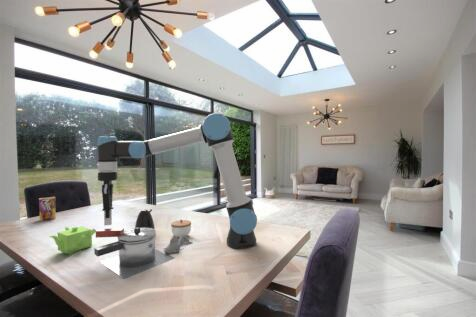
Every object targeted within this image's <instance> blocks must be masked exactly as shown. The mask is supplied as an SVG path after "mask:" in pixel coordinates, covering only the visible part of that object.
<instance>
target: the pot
mask: <svg viewBox="0 0 476 317" xmlns="http://www.w3.org/2000/svg"><path fill="white" fill-rule="evenodd" d="M155 249H156V235H155V236H154V237H152V238H150V239H147V240H144V241H139V242H122V241H119V240H118V239H117V241H114V242H110V243H107V244H103V245H100V246H96V247H94V249H93V250H94V252H93V253H94V256H96V257H101V256H104V255H108V254H111V253H114V252H117V251H118V255H119V264H120V265H121V266H122V267H127V268H133V267H140V266H144V265H147V264H149V263H151V262H152V261H153V260H154V259H155Z"/></svg>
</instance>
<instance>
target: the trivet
mask: <svg viewBox="0 0 476 317" xmlns="http://www.w3.org/2000/svg"><path fill="white" fill-rule="evenodd" d="M174 259H175V257H174V256H172V255H170V254H166V253H165V252H163V251H160V250H158V249H156V248H155V259H154V260H153V261H152V262H151V263H149V264H147V265H144V266H140V267H133V268H127V267H122V266H121V265H120V264H119V254H118V255H115V256H112V257H108V258H106V259H103V260H99V263H100V264H102V265H103V266H105V267H106V268H107V269H109V270H110V271H112V272H114V273H115V275H118V276H119V277H120V278H122V279H123V280H125V279H128V278H131V277H132V276H136V275H137V274H139V273H143V272H144V271H147V270H149V269H152V268H154V267H157V266H159V265H162V264H165V263H167V262H169V261H172V260H174Z"/></svg>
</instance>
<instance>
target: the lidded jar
mask: <svg viewBox="0 0 476 317" xmlns="http://www.w3.org/2000/svg"><path fill="white" fill-rule="evenodd" d="M170 224H171V225H170V226H171V227H170V228H171V234H172V235H173V237H176V238H180V237H185V238H186V237H187V238H188V236H189V235H190V233H191V229H192V222H191V221H190V220H187V219H179V220H175V221H173V222H171V223H170Z"/></svg>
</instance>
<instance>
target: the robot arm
mask: <svg viewBox="0 0 476 317" xmlns="http://www.w3.org/2000/svg"><path fill="white" fill-rule="evenodd" d="M234 141H235V139H234V136H233V131H232V128H231V122H230V120H229V119H228V117H227V116H226V115H225V114H222V113H219V112H214V113H210V114H208V115H207V116H206V117H205V118H204V119H203V123H201V124H199V125H198V127H195V128H194V127H193V128H191V129H186V130H183V131H179V132H175V133H171V134H167V135H163V136H158V137H155V138H151V139H148V140H147V139H146V140H144V141H142V140H118V138H117V136H114V135H113V136H111V135H100V136H98V137H97V146H96V147H97V163H96V167H97V171H98V172H97V181H98V182H103V184H101V194H102V210H101V211H103V216H104V217H103V219H104V220H103V221H104V222H103V225H104V226H112V224H113V222H112V219H113V218H112V217H113V214H112V210H113V209H114V207H113V194H114V191H113V190H114V183H113V182H112V181H116V180H117V181H118V172H117V171H118V159H143V158H148V157H150V156H153V155H157V154H160V153H161V154H162V153H165V152H169V151H173V150H176V149H180V148H184V147H187V146H193V145H195V144H200V143H204V144H207V146H208V148H209V149H211V150H212V151H213V155H214V157H215V160H216V164H217V168H218V170H219V174H220V178H221V182H222V185H223V188H224V192H225V195H226V199H227V203H226V205H225V208H226V213H227V215H228V218H229V230H228V234H227V238H226V245H227V246H228V247H230V248H233V249H237V250H238V249H239V250H243V249H244V250H246V249H250V248H253V247H255V246H256V245H257V238H256V234H255V229H256V227H257V224H258V218H257V214H256V211H255V209H254V207H253V206H254V200H253V198H250V197H249V196H247V194H246V190H245V185H244V184H243V183H244V182H243V179H242V176H241V173H240V169H239V166H238V162H237V159H236V156H235V155H236V154H235V152H234V147H233V144H234Z"/></svg>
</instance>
